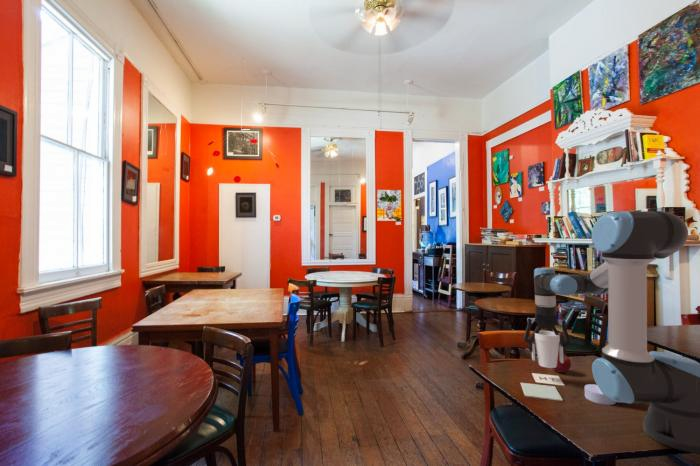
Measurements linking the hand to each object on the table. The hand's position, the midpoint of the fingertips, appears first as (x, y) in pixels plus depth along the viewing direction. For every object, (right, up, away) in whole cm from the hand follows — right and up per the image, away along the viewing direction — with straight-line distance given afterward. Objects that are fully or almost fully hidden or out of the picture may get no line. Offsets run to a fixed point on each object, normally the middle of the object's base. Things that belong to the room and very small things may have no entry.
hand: (547, 360), depth 139 cm
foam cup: (0, -2, 0) cm, 2 cm away
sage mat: (-9, -7, -11) cm, 16 cm away
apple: (+10, -8, +8) cm, 15 cm away
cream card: (0, -8, 0) cm, 8 cm away
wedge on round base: (+10, -7, -18) cm, 22 cm away
